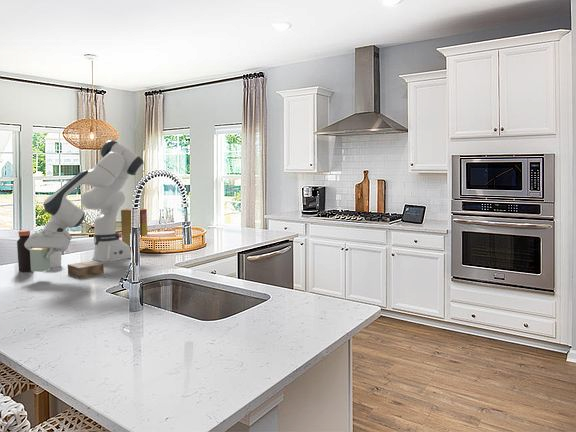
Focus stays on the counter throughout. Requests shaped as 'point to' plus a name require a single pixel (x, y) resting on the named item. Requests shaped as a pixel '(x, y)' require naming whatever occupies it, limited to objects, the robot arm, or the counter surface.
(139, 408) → the counter surface
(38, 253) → the tin
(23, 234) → the bottle
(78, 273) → the walnut block
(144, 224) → the food packaging
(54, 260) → the white cup
